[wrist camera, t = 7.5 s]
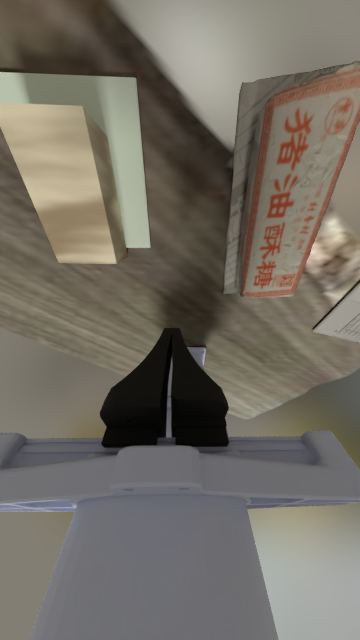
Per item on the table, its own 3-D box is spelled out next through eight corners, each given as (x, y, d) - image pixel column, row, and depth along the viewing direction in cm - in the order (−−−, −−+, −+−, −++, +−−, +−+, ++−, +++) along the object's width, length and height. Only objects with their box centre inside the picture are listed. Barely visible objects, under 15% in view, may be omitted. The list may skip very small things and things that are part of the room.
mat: (150, 247, 18) (150, 248, 18) (54, 245, 18) (52, 246, 18) (136, 80, 11) (135, 77, 11) (-18, 74, 11) (-22, 71, 11)
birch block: (116, 263, 15) (82, 105, 10) (58, 262, 15) (-11, 102, 9) (127, 256, 18) (107, 136, 13) (80, 255, 18) (39, 134, 13)
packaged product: (312, 299, 18) (230, 306, 18) (287, 285, 22) (221, 291, 22) (456, -6, 8) (264, 25, 8) (360, 73, 12) (236, 91, 12)
